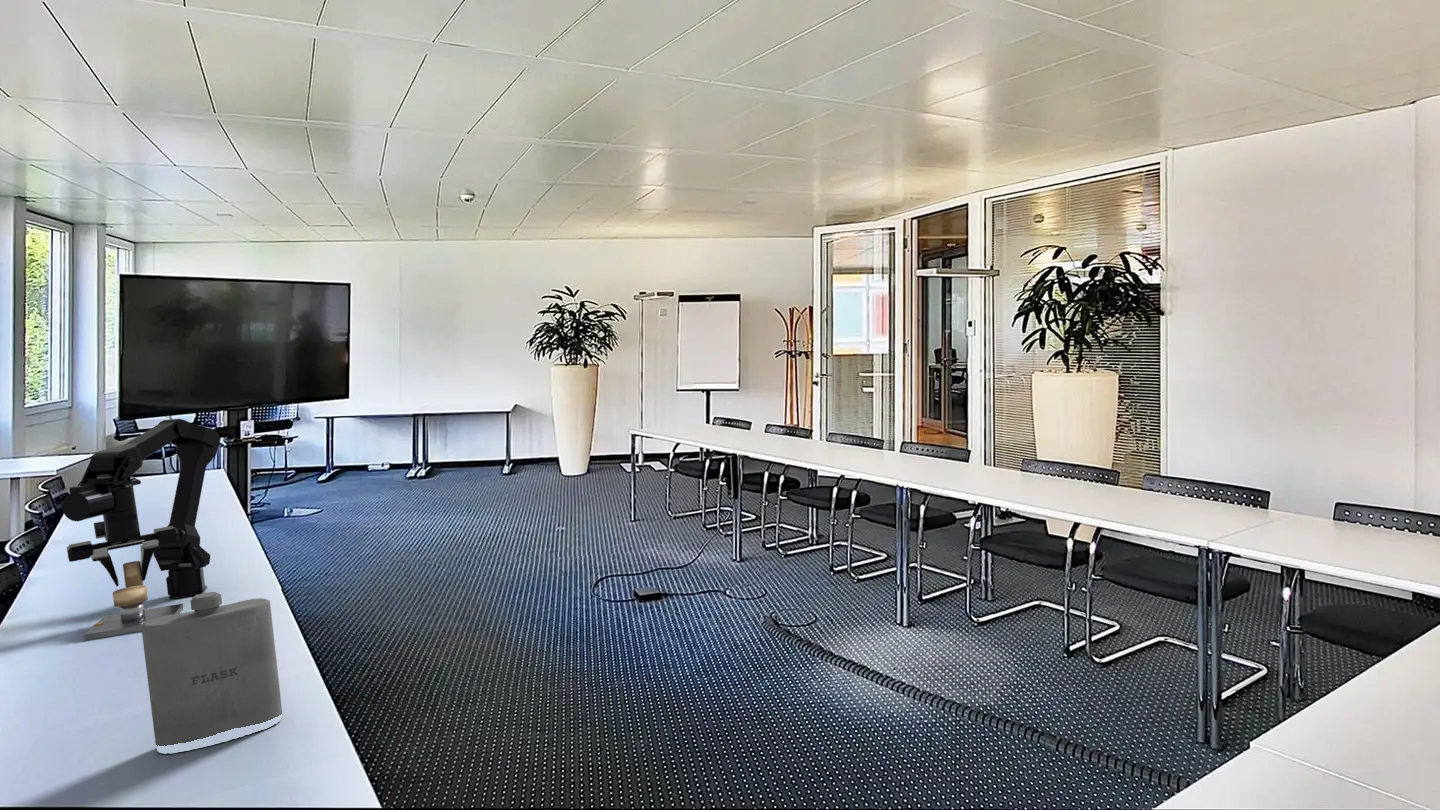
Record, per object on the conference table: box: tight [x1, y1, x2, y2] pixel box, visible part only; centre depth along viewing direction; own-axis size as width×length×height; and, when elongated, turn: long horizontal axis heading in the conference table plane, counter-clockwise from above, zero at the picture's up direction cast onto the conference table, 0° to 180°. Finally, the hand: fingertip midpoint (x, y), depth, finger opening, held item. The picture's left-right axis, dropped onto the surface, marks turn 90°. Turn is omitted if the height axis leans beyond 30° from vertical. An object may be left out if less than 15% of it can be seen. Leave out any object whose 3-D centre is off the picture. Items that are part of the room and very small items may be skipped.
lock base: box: [83, 602, 185, 642], centre depth 166 cm, size 14×13×4 cm
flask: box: [141, 591, 283, 746], centre depth 111 cm, size 15×6×20 cm, turn 122°
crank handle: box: [112, 560, 149, 607], centre depth 167 cm, size 10×6×7 cm, turn 29°
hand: (130, 583), depth 170 cm, fingers open, 4 cm apart
